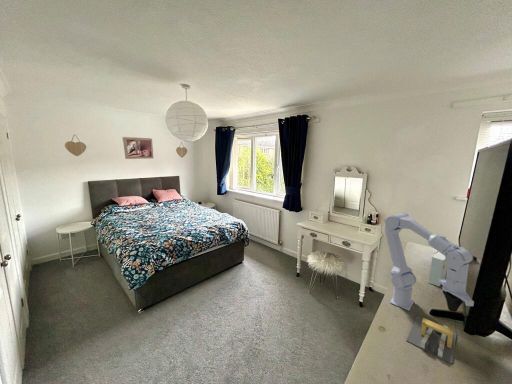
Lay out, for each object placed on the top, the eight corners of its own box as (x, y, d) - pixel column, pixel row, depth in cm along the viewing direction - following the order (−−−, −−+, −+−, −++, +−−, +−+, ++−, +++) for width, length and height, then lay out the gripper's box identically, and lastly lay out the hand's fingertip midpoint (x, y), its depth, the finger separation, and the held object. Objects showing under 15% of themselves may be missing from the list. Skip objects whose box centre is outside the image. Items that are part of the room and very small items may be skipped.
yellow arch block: (422, 330, 85) (423, 318, 85) (451, 343, 79) (453, 330, 78) (420, 334, 83) (422, 322, 83) (451, 348, 77) (452, 335, 76)
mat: (416, 316, 93) (416, 316, 93) (456, 333, 84) (456, 333, 84) (406, 341, 81) (406, 340, 81) (451, 364, 72) (452, 363, 72)
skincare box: (440, 287, 114) (443, 260, 111) (428, 283, 118) (430, 256, 116) (450, 274, 126) (453, 249, 124) (439, 270, 130) (441, 246, 128)
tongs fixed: (436, 327, 87) (436, 322, 87) (447, 332, 84) (448, 326, 84) (429, 351, 76) (430, 345, 76) (442, 358, 74) (442, 351, 73)
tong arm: (429, 330, 85) (430, 325, 85) (436, 333, 83) (437, 328, 83) (420, 346, 78) (420, 341, 78) (427, 350, 76) (428, 345, 76)
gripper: (432, 268, 89) (429, 297, 91) (459, 289, 75) (455, 323, 77) (450, 269, 88) (447, 299, 90) (482, 290, 74) (477, 325, 76)
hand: (452, 310), depth 83 cm, fingers closed
